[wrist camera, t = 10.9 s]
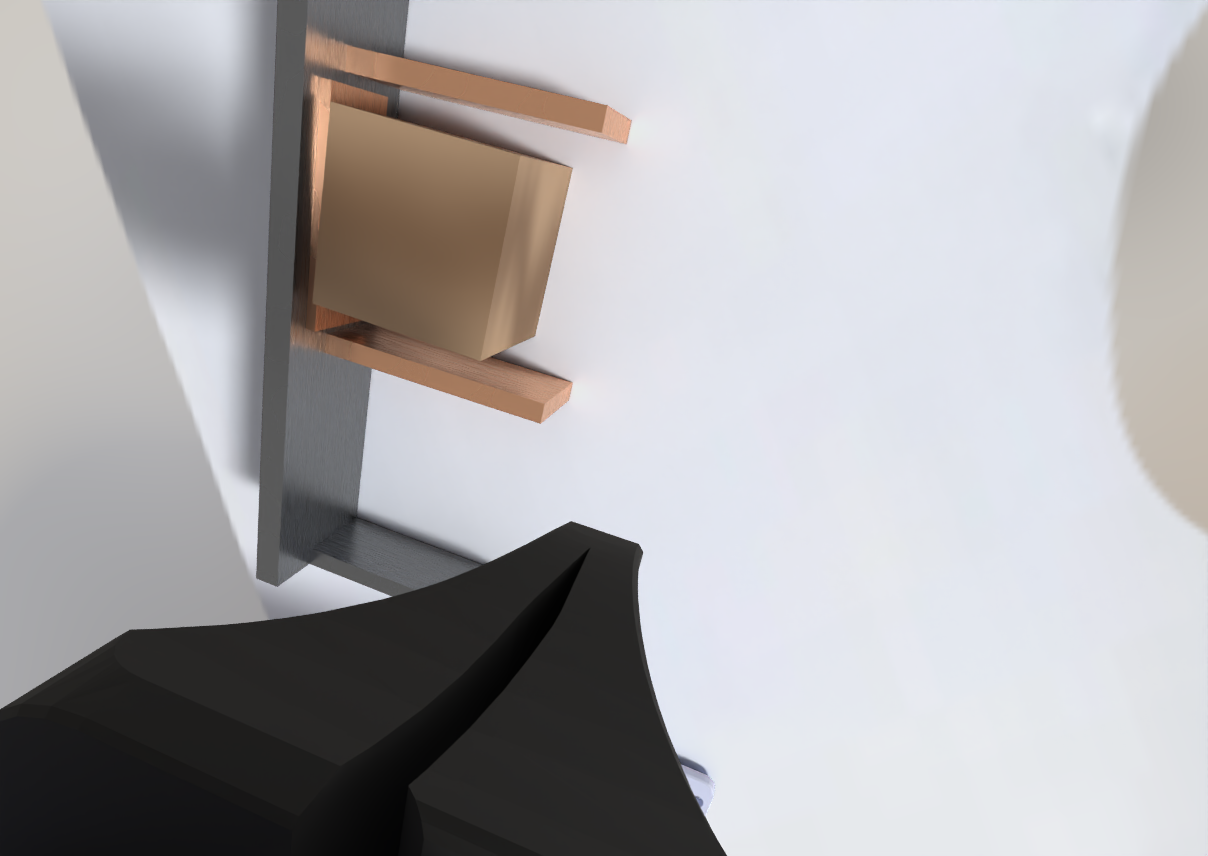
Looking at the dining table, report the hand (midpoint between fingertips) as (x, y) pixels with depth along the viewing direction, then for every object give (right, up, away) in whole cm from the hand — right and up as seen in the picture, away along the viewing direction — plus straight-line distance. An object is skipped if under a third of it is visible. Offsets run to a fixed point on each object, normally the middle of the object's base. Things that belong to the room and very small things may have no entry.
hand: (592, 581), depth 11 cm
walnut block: (-4, +9, +9) cm, 13 cm away
